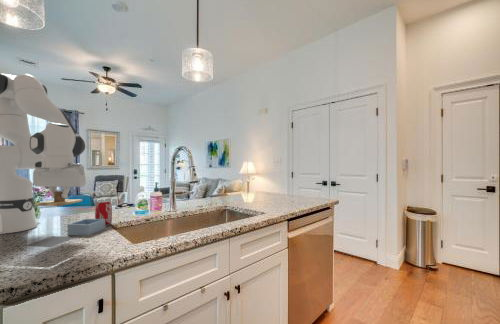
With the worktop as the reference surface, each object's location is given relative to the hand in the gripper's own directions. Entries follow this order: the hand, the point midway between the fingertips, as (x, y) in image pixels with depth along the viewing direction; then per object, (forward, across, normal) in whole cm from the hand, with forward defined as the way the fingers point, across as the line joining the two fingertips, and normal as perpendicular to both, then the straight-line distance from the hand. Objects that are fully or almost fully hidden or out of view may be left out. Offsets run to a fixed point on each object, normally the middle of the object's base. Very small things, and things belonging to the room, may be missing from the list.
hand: (59, 198), depth 92 cm
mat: (+17, +1, +3) cm, 17 cm away
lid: (+2, 0, 0) cm, 2 cm away
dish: (+17, -3, -10) cm, 20 cm away
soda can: (+17, -1, -22) cm, 28 cm away
